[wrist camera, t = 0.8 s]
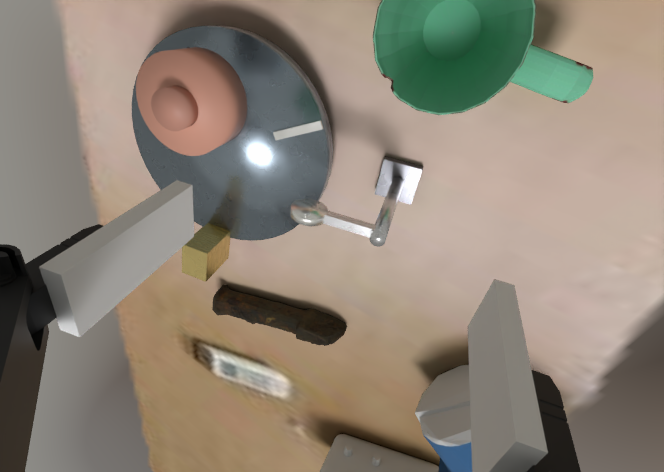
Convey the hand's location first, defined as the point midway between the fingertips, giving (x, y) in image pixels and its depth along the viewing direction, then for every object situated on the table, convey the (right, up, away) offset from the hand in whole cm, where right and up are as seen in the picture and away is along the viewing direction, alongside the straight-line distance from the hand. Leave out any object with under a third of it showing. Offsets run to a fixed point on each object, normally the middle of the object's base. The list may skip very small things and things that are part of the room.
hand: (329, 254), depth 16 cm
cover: (-12, +14, +21) cm, 28 cm away
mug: (+12, +17, +16) cm, 27 cm away
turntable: (-10, +10, +25) cm, 29 cm away
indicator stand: (+5, +8, +24) cm, 26 cm away
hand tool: (-7, -9, +38) cm, 40 cm away
